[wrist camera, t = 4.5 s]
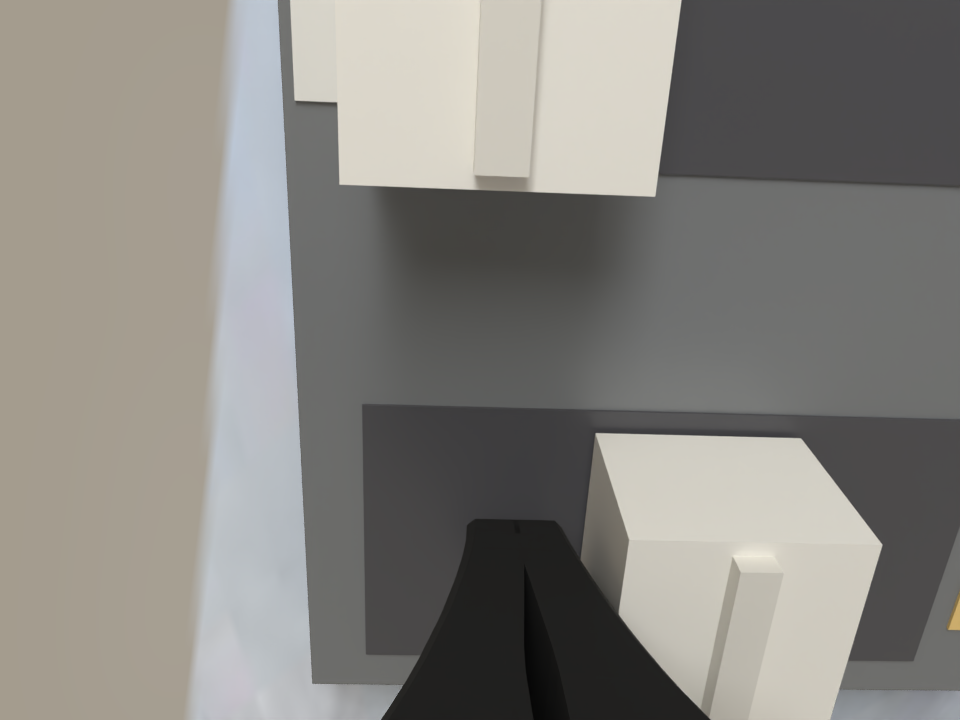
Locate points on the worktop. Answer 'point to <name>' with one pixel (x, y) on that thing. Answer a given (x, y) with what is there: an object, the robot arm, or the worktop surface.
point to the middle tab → (504, 93)
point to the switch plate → (642, 321)
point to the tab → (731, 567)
